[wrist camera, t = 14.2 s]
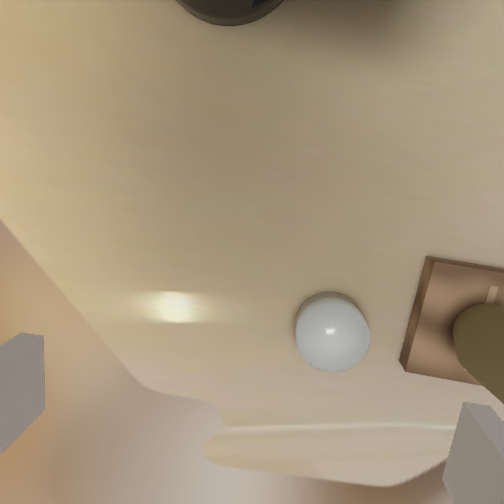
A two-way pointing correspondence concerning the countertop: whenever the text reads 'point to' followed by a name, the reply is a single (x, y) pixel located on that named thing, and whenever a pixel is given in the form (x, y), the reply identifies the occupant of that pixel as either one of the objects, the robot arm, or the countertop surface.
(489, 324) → the squeeze bottle
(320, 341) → the white dome cap
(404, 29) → the countertop surface
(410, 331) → the plate
